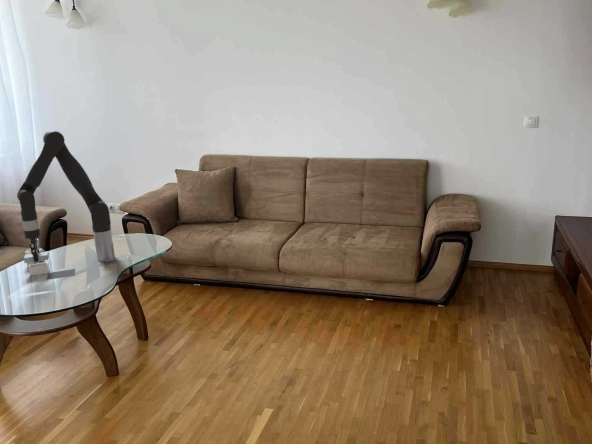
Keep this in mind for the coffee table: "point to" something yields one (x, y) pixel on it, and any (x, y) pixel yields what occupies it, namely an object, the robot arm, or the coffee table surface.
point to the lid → (41, 257)
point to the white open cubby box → (39, 268)
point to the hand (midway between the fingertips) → (37, 259)
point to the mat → (61, 274)
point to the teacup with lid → (30, 253)
